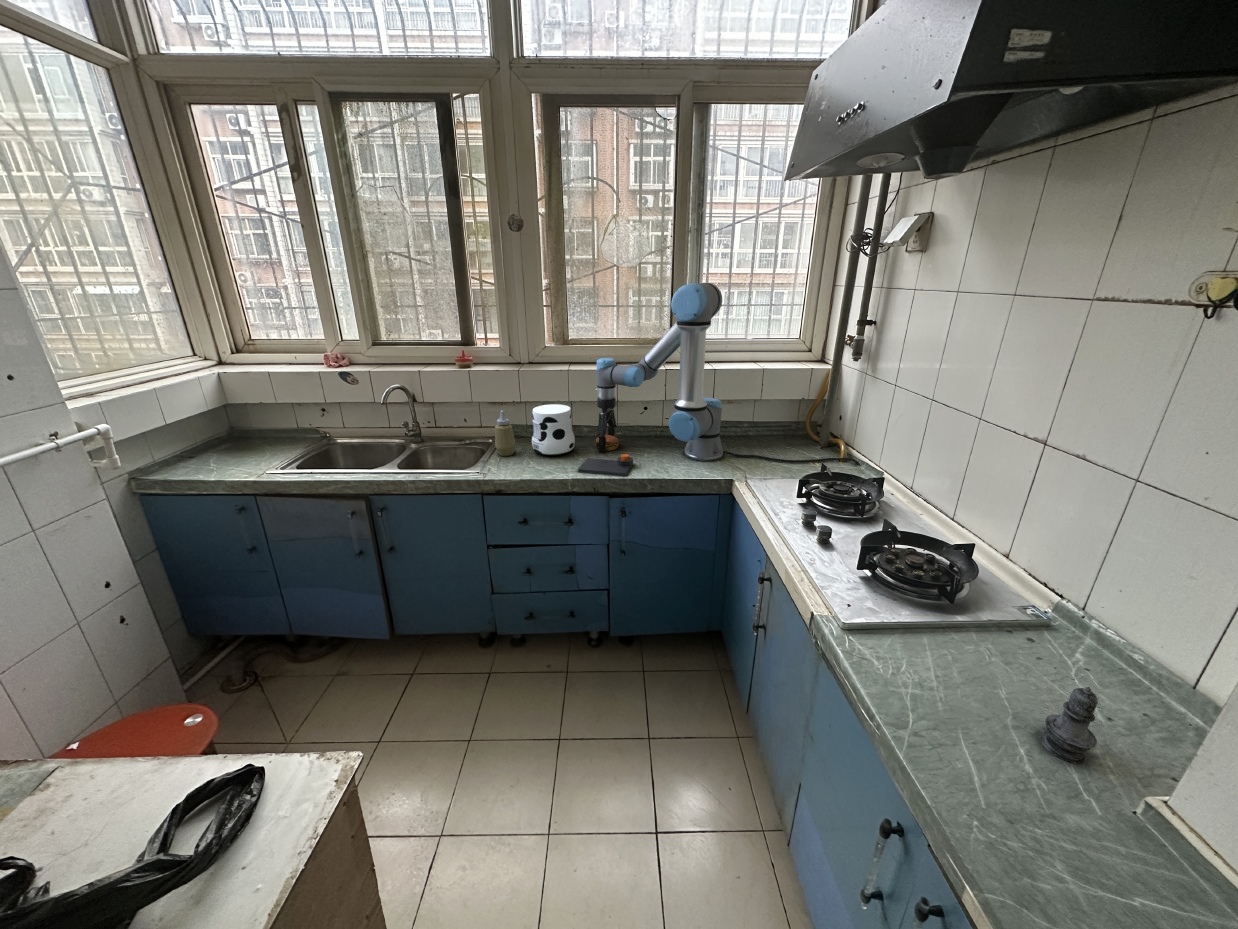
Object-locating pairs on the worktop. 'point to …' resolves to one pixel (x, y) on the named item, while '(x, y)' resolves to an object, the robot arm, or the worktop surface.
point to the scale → (607, 466)
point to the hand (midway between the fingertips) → (607, 447)
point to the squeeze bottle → (504, 436)
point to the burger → (609, 442)
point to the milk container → (552, 430)
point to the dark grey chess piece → (1072, 727)
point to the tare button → (625, 457)
